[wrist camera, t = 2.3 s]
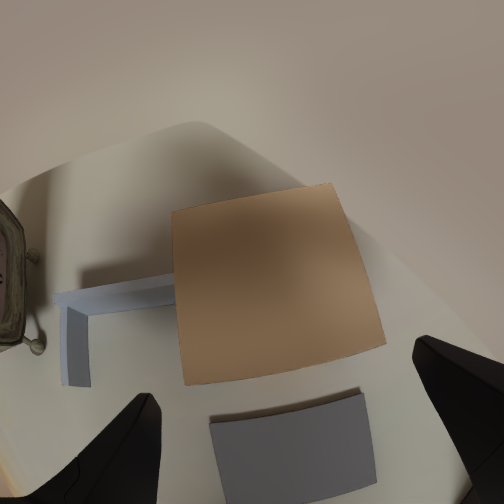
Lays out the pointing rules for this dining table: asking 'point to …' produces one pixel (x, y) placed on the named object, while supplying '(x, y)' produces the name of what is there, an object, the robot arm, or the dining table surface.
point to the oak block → (269, 286)
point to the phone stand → (472, 498)
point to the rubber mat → (296, 454)
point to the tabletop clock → (14, 283)
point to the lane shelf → (100, 302)
